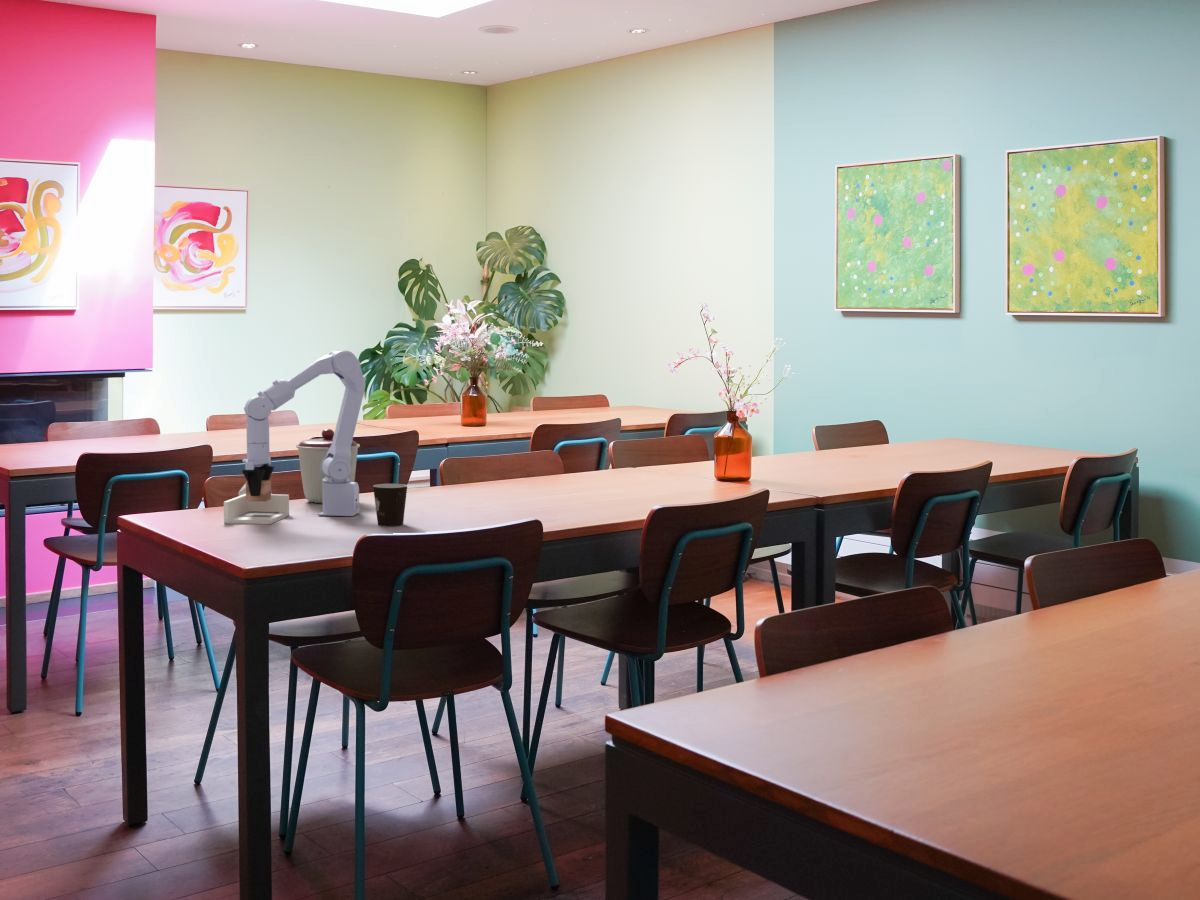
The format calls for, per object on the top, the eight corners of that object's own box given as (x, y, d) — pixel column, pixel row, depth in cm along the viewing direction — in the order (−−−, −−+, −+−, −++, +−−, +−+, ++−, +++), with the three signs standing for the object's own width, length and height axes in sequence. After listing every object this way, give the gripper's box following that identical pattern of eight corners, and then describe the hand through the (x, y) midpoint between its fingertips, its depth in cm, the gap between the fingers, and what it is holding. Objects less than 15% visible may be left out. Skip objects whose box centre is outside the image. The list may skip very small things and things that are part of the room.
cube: (271, 499, 331) (270, 480, 331) (264, 501, 326) (264, 482, 326) (252, 498, 332) (252, 479, 331) (246, 501, 327) (245, 482, 326)
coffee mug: (375, 522, 325) (374, 483, 324) (408, 521, 326) (408, 483, 325) (370, 529, 313) (370, 489, 312) (405, 528, 314) (405, 489, 313)
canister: (370, 503, 361) (369, 430, 359) (310, 507, 351) (309, 432, 349) (345, 495, 376) (345, 425, 374) (287, 500, 366) (286, 427, 364)
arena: (289, 515, 336) (288, 494, 335) (270, 524, 320) (269, 502, 319) (245, 514, 336) (244, 493, 336) (224, 523, 320) (223, 501, 320)
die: (254, 515, 339) (276, 485, 341) (227, 498, 340) (249, 468, 343) (262, 522, 347) (283, 492, 350) (235, 505, 348) (257, 475, 351)
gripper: (252, 440, 335) (252, 490, 336) (233, 445, 321) (234, 497, 322) (278, 440, 335) (278, 491, 336) (260, 445, 320) (261, 498, 322)
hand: (258, 494), depth 329 cm, fingers closed on cube, 5 cm apart
